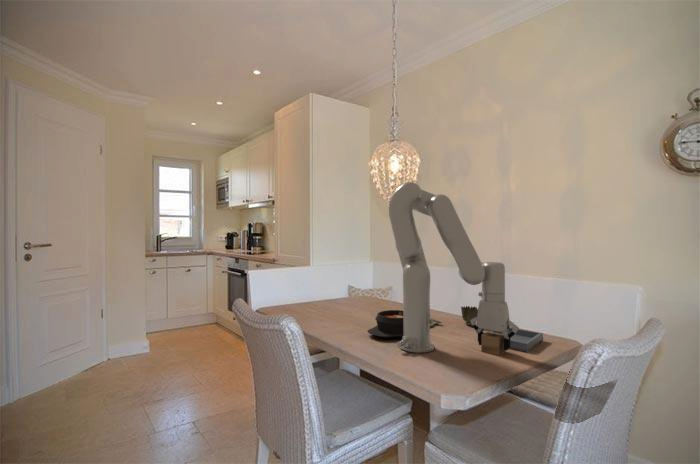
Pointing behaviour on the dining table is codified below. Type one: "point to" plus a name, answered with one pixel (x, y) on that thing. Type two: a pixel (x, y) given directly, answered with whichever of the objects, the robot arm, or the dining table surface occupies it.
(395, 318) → the casserole
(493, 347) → the walnut block
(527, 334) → the tray
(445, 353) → the dining table surface
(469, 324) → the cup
